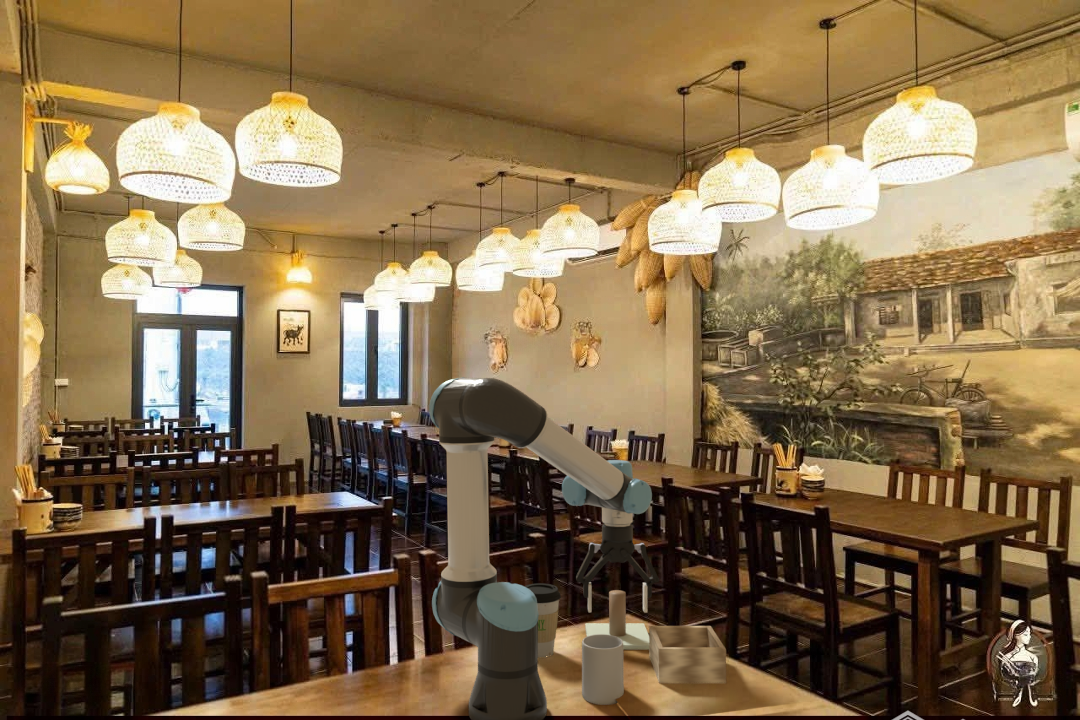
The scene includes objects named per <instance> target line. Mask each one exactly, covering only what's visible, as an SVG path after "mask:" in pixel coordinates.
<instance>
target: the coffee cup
mask: <svg viewBox="0 0 1080 720" xmlns="http://www.w3.org/2000/svg"><path fill="white" fill-rule="evenodd" d="M523 586H524V585H523ZM524 587H526V588H528V589H529V590H531V591H532V592H533V593H534V595H535V597H536V599H537V607H538V613H539V617H538V657H545V658H547V657H546V656H549V657H551V656H553V654H554V650H555V640H556V637H557V628H558V618H559V604H560V603H559V602H560V599H561V598H562V596H561V592H560V591H559V588H558V586H556V585H553V584H550V583H542V582H541V583H530V584H526V585H525V586H524ZM550 655H551V656H550Z"/></svg>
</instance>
